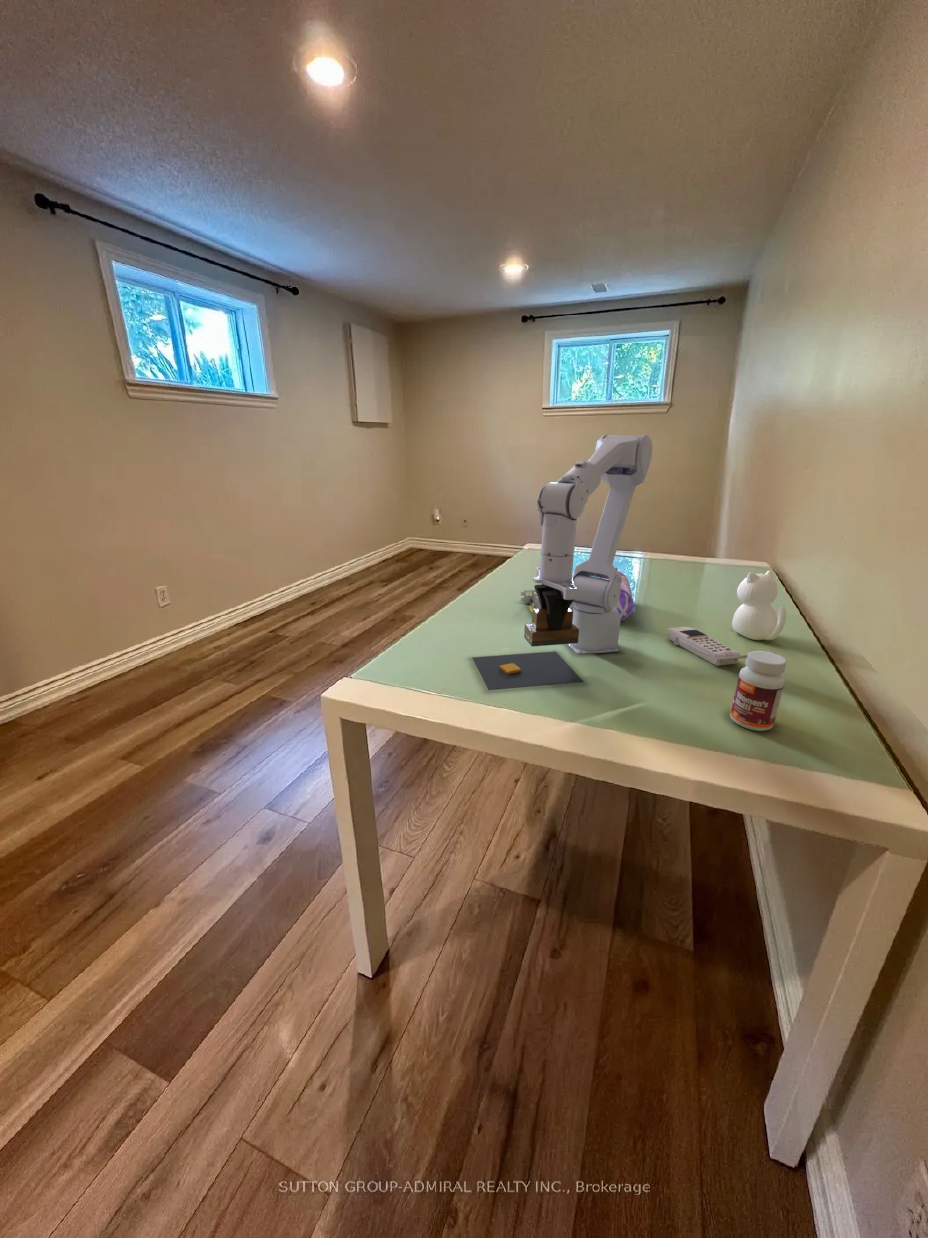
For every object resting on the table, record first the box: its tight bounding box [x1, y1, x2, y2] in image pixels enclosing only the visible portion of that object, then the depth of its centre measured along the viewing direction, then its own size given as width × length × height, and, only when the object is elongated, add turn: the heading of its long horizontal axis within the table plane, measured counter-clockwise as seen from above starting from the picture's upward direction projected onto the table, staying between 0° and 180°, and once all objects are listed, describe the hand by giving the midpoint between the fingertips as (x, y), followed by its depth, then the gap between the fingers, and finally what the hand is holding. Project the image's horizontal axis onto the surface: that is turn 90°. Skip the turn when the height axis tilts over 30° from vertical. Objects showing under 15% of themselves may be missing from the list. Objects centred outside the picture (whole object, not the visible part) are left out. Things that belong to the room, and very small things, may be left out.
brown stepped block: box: [523, 608, 579, 647], centre depth 91 cm, size 9×4×6 cm, turn 101°
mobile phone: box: [666, 626, 777, 667], centre depth 101 cm, size 6×6×25 cm
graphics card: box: [520, 589, 574, 613], centre depth 128 cm, size 17×4×12 cm
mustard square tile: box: [500, 663, 521, 674], centre depth 94 cm, size 3×3×1 cm
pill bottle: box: [729, 650, 787, 732], centre depth 76 cm, size 6×6×11 cm
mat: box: [471, 651, 584, 691], centre depth 95 cm, size 18×14×1 cm
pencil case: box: [601, 567, 634, 622], centre depth 128 cm, size 22×9×10 cm, turn 167°
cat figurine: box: [731, 569, 787, 641], centre depth 110 cm, size 9×12×15 cm
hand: (551, 625), depth 91 cm, fingers closed on brown stepped block, 2 cm apart
